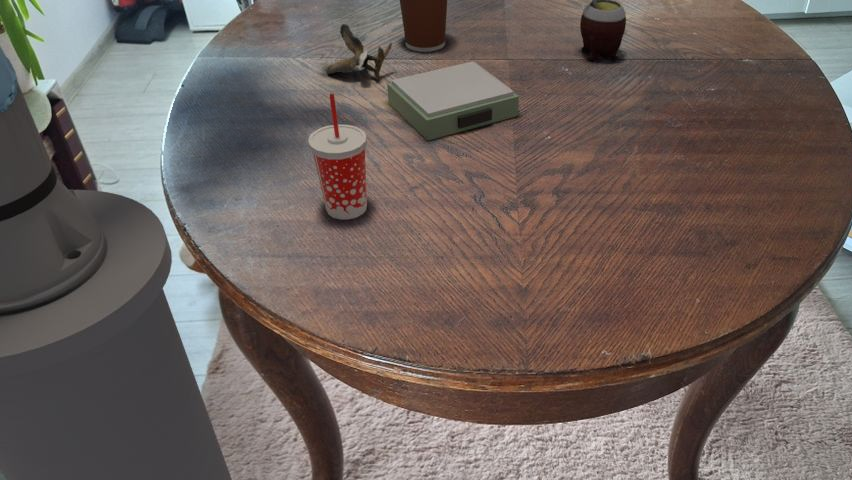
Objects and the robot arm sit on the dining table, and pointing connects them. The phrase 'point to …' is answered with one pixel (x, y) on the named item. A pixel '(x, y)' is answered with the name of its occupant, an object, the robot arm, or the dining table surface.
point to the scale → (452, 100)
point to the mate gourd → (602, 28)
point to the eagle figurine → (357, 55)
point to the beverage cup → (341, 167)
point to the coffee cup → (424, 24)
